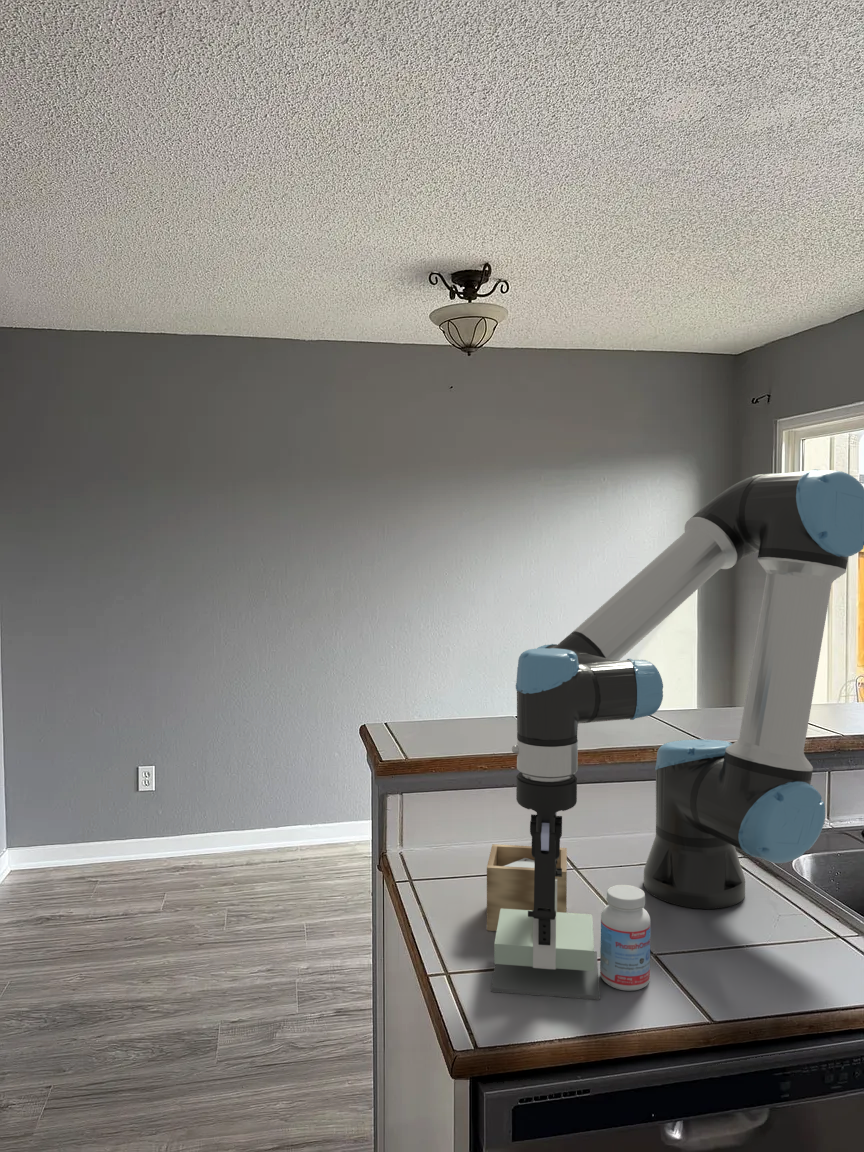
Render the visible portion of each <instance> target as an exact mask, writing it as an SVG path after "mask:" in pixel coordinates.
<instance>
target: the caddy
mask: <svg viewBox="0 0 864 1152" xmlns="http://www.w3.org/2000/svg"><path fill="white" fill-rule="evenodd" d="M567 850H568V848H567V847H560V856H559V858H558V859H557V864H556V868H562V877H555V878H557V912H563V913H567V912H568V911H567V903H568V902H567V895H568V894H567V893H568V892H567V883H568V881H567V880H568V879H567V877H568V876H567V875H568V873H567V872H568V870H567V868H568V866H567V865H568V862H567V861H568V857H567V855H568V851H567ZM531 852H532V845H516V844H515V845H513V844H499V843H498V844H495V843H492V845H491V849H490V852H489V853H490V854H489V857H488V862H487V865H486V931H490V932H491V931H492V932H497V926H498V921H499V915H500V909H517V910H532V911H533V910H534V868H526V867H508V866H505V865H508V864H511V863H513V862H516V861H518V860H521V859H523V858H529V859H531V860H534V861H535V858H533V856H532V853H531Z"/></svg>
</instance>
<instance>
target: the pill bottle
mask: <svg viewBox="0 0 864 1152" xmlns="http://www.w3.org/2000/svg"><path fill="white" fill-rule="evenodd" d="M606 901H607V905H606V906H605V907H604V908H603V909H602V911H601V913H600V948H599V950H600V954H599V957H600V959H599V961H600V962H599V969H600V970H599V973H600V975H599V976H600V978H601V979H602V981H604V983H606V984H607V985H608V986H610V987H612V988H614V989H617V990H621V991H628V992H629V991H631V992H633V991H638V990H642V989H643V988H645V987H647V986H648V984H649V983H650V980H651V979H650V977H651V976H650V974H651V916H650V914H649V912H648V911H647V910H646V909H645V908H644V907H645V904H646V893H645V891H644V890H643V889H641V888H640V887H637V886H635V885H629V884H616V885H612V886H610V887H609V888H607V891H606Z"/></svg>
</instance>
